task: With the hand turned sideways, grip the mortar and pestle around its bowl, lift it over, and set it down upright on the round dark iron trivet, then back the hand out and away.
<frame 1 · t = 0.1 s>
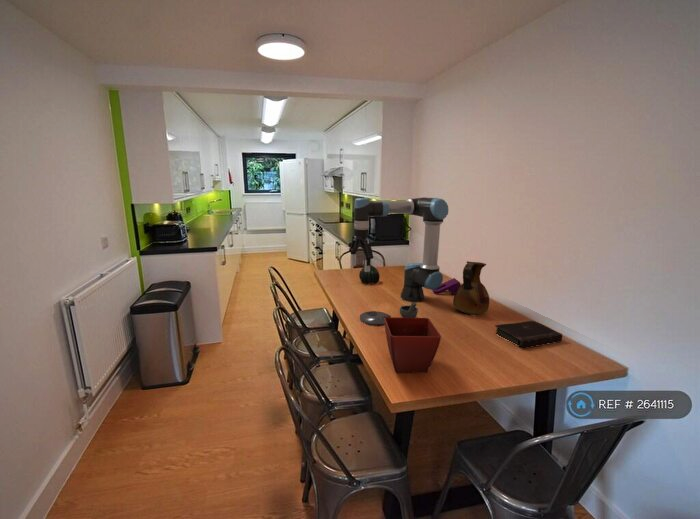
hand: (360, 268, 181), 28 cm above the table, tool pointing down, fingers open, 13 cm apart
diary: (525, 338, 168), on the table
mounting bracket: (445, 293, 235), on the table
squash: (369, 283, 255), on the table
ceramic pitcher: (470, 312, 200), on the table
iron trivet: (375, 319, 186), on the table
mortar and pestle: (408, 321, 185), on the table
plant pot: (408, 365, 140), on the table
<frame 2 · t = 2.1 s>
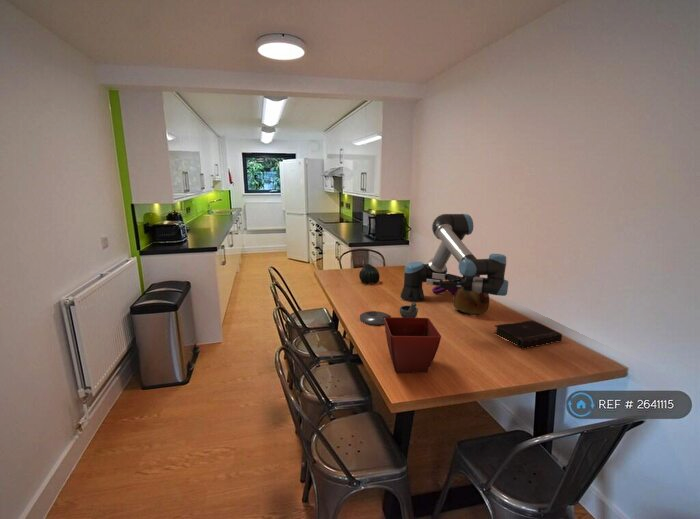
hand: (429, 278, 175), 25 cm above the table, tool horizontal, fingers open, 13 cm apart
nothing on the table moved.
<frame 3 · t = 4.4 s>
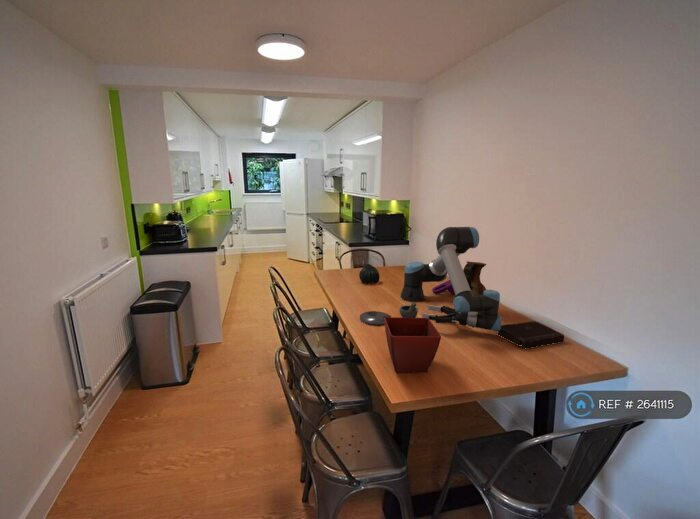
hand: (425, 311, 179), 7 cm above the table, tool horizontal, fingers open, 13 cm apart
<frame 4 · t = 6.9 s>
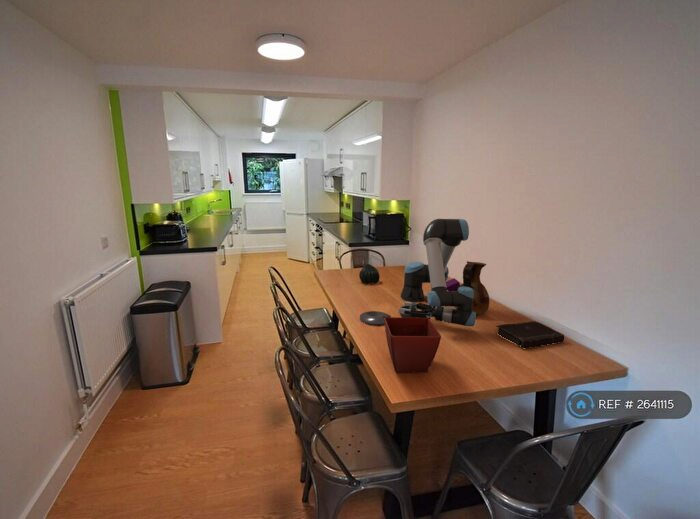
hand: (401, 307, 185), 7 cm above the table, tool horizontal, fingers closed on mortar and pestle, 10 cm apart
mortar and pestle: (408, 321, 185), on the table, touching gripper
everything else where it was.
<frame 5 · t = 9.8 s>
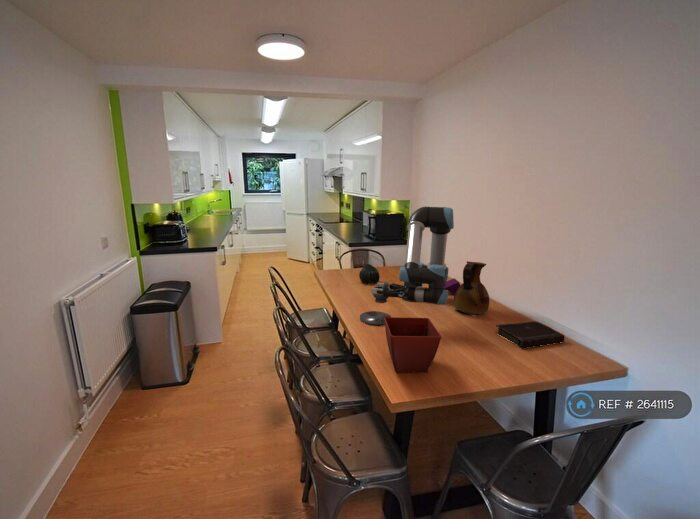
hand: (374, 287, 182), 18 cm above the table, tool horizontal, fingers closed on mortar and pestle, 10 cm apart
mortar and pestle: (381, 302, 182), point 11 cm above the table, touching gripper
everything else where it was.
when the fingers open (10 cm above the table, at t = 12.5 s): mortar and pestle drops 1 cm, resting on iron trivet.
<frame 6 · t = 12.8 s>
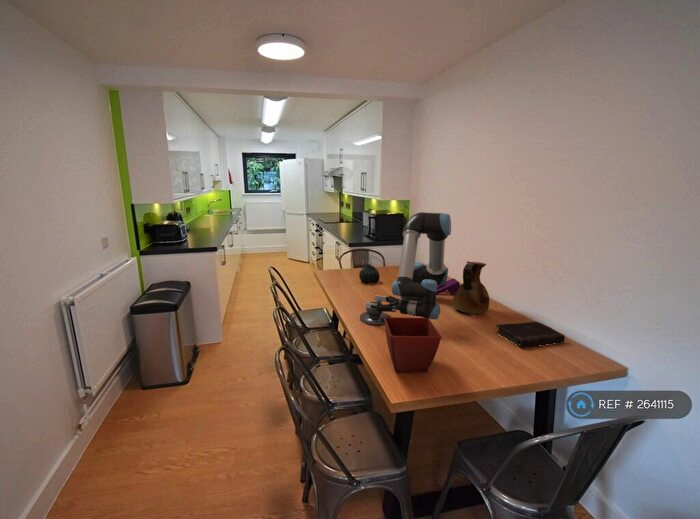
hand: (370, 301, 185), 10 cm above the table, tool horizontal, fingers open, 13 cm apart
mortar and pestle: (375, 317, 185), point 1 cm above the table, touching iron trivet
everything else where it was.
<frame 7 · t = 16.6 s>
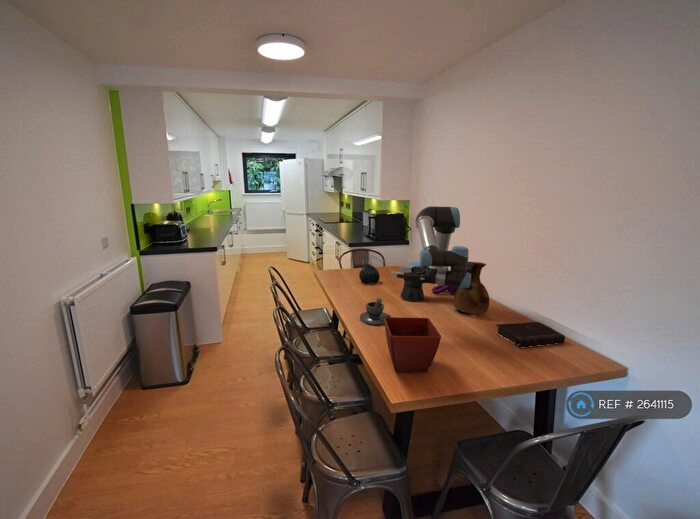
hand: (395, 271, 175), 28 cm above the table, tool horizontal, fingers open, 13 cm apart
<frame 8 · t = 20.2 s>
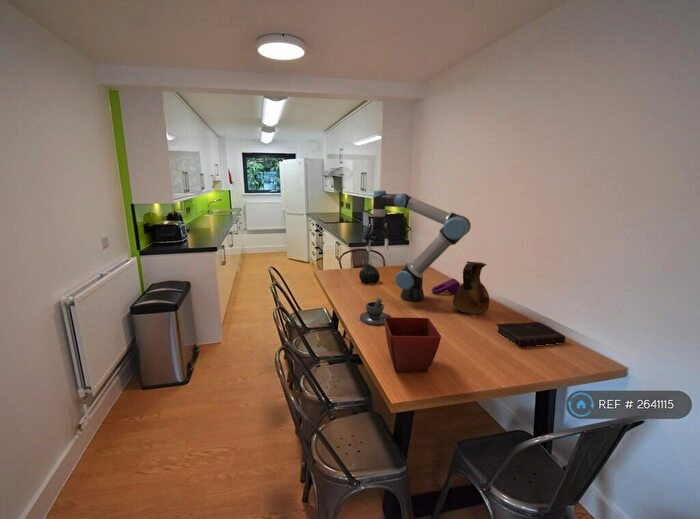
hand: (377, 250, 213), 32 cm above the table, tool pointing down, fingers open, 13 cm apart
at the end: mortar and pestle inside the target area on the iron trivet (0.6 cm from its centre), point 1.3 cm above the iron trivet's base; mortar and pestle tilted 0°; the gripper is holding nothing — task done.
